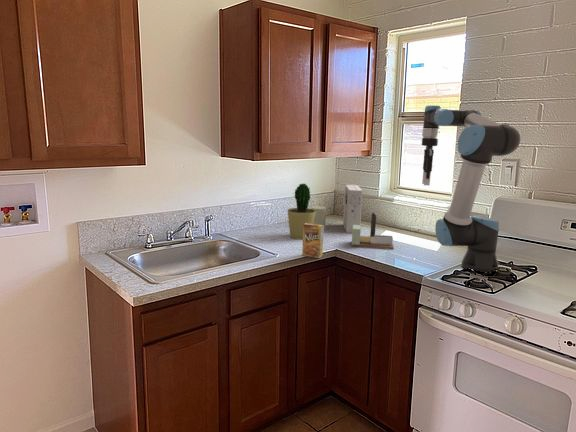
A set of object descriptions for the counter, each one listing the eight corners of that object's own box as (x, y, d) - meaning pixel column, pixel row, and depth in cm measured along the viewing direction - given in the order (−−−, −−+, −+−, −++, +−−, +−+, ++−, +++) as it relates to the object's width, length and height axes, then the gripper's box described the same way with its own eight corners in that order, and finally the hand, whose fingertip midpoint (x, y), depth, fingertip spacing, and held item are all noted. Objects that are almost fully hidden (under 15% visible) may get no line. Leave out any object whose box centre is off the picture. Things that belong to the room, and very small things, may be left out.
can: (328, 225, 277) (329, 206, 275) (321, 228, 270) (322, 208, 267) (314, 223, 282) (315, 204, 280) (307, 226, 275) (308, 206, 272)
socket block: (359, 244, 231) (360, 229, 230) (351, 244, 232) (352, 229, 230) (359, 239, 241) (360, 225, 240) (352, 239, 242) (352, 224, 240)
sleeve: (392, 245, 232) (392, 238, 231) (370, 244, 233) (370, 236, 233) (391, 243, 236) (392, 235, 235) (370, 241, 238) (370, 234, 237)
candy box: (301, 255, 213) (303, 224, 210) (305, 253, 217) (306, 222, 214) (319, 258, 210) (321, 226, 207) (322, 256, 214) (324, 224, 211)
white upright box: (359, 233, 261) (362, 190, 255) (346, 233, 261) (349, 189, 256) (355, 225, 282) (357, 185, 277) (342, 224, 282) (345, 184, 277)
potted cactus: (298, 231, 260) (300, 179, 253) (320, 236, 250) (322, 182, 244) (280, 236, 248) (282, 182, 242) (303, 241, 238) (305, 185, 232)
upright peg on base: (376, 242, 234) (378, 214, 231) (354, 241, 235) (356, 212, 232) (375, 241, 236) (378, 213, 233) (354, 240, 238) (356, 211, 235)
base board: (393, 249, 229) (393, 247, 229) (351, 246, 232) (351, 244, 232) (392, 244, 239) (392, 242, 239) (351, 241, 242) (352, 239, 242)
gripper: (441, 138, 214) (436, 187, 219) (435, 137, 232) (430, 182, 237) (424, 137, 215) (420, 186, 220) (419, 136, 233) (415, 181, 238)
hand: (425, 184), depth 228 cm, fingers open, 5 cm apart
